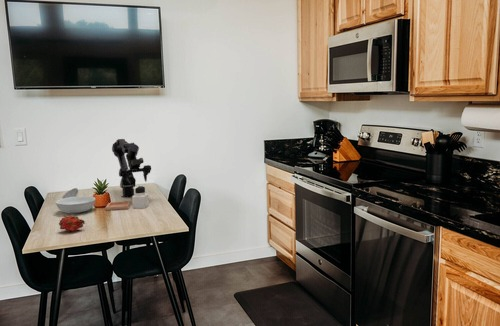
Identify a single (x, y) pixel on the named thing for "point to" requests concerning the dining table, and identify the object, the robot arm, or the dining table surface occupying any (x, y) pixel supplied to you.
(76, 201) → the serving bowl
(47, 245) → the dining table surface
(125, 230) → the dining table surface
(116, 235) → the dining table surface
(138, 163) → the robot arm
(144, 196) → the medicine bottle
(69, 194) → the grey rounded lump
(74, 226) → the dragon fruit
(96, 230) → the dining table surface
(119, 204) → the terracotta tray
